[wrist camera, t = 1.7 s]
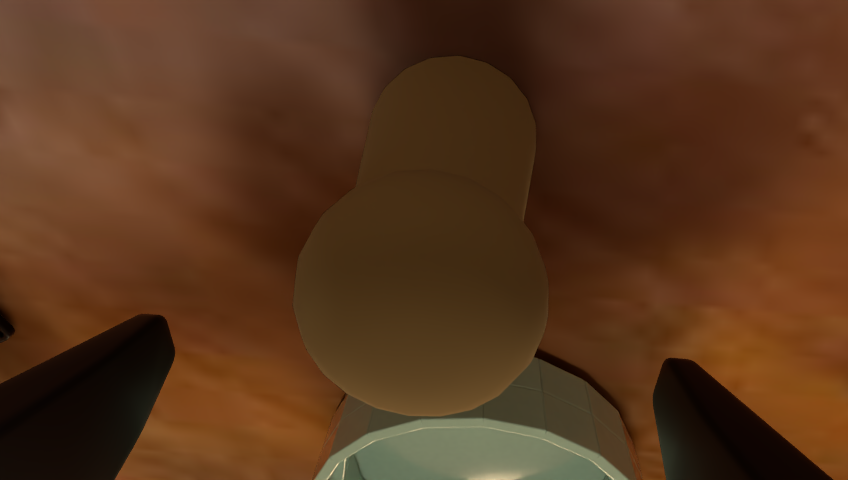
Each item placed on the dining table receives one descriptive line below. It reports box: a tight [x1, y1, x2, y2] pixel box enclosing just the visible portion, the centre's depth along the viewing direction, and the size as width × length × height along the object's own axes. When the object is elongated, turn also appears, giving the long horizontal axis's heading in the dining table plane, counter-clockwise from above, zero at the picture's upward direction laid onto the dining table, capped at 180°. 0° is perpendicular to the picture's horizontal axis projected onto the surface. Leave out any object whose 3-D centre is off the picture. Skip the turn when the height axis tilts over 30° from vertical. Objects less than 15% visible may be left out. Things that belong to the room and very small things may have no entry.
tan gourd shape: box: [293, 56, 549, 416], centre depth 14 cm, size 6×6×11 cm
